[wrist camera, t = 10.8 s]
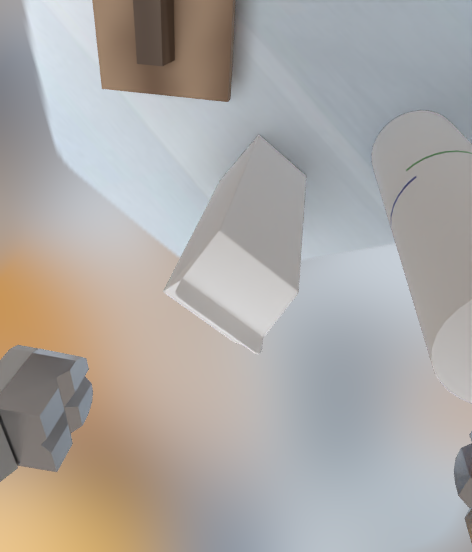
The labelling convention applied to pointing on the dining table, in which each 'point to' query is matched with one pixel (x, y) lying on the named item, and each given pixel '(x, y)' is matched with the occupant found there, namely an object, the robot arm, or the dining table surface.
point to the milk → (245, 248)
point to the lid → (166, 46)
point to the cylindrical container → (433, 233)
